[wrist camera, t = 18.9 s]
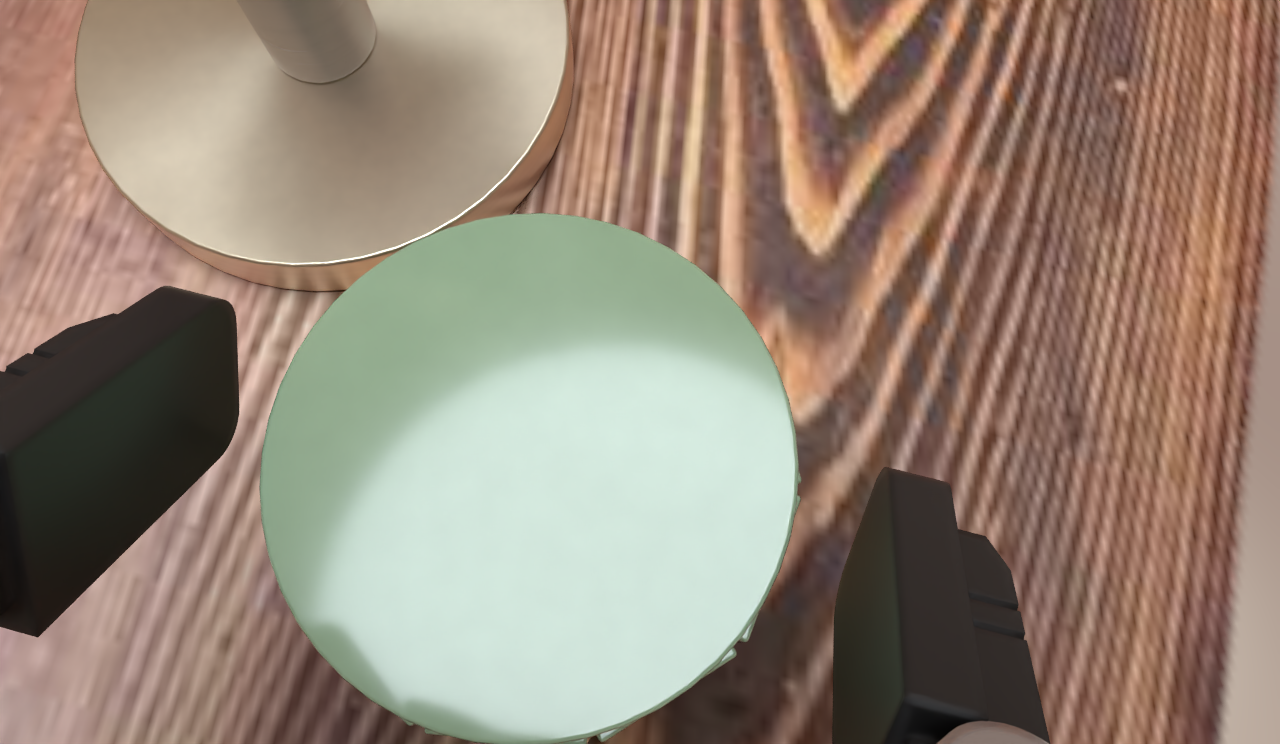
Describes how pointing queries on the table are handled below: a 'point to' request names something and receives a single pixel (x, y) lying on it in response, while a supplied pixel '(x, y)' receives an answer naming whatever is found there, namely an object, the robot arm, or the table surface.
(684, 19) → the table surface
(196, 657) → the table surface
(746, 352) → the green grooved cylinder
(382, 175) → the towel holder
